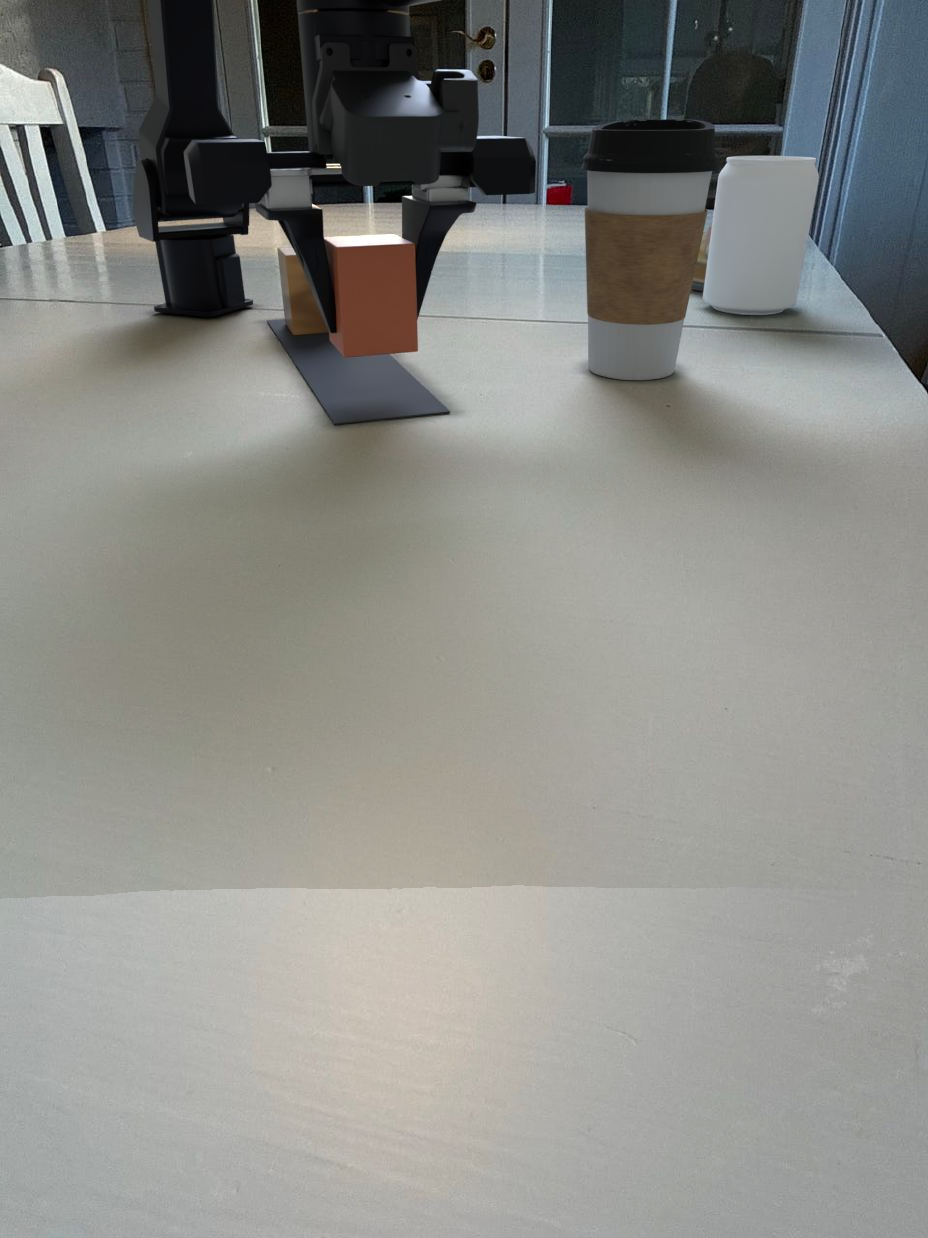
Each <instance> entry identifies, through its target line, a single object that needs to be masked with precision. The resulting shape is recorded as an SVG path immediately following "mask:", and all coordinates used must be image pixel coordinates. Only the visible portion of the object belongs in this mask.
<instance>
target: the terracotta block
mask: <svg viewBox="0 0 928 1238" xmlns="http://www.w3.org/2000/svg"><path fill="white" fill-rule="evenodd" d="M324 242H325V248H326V253H327V259H328V264H329V270H330V276H331V281H332V287H333V293H334V298H335V304H336V325H337V333H332V334H331V333H330V332H329V338H330V341H331V343H332V344H333V345H334V346H335V347H336V348H337V349H338V351H339V352H340V353H341V354H342V355H343V356H344V357H345V358H347V357H359V356H371V355H383V354H390V355H392V354H394V355H396V354H405V353H407V354H408V353H417V352H418V351H419V338H418V337H419V335H418V334H419V331H418V320H417V297H416V263H415V244H414V243H412V242H410V241H408V240H406V239H404V238H402V236H400V235H397V234H395V233H388V234H387V233H386V234H385V233H384V234H364V235H361V234H360V235H341V236H324Z"/></svg>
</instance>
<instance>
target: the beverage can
mask: <svg viewBox="0 0 928 1238" xmlns="http://www.w3.org/2000/svg"><path fill="white" fill-rule="evenodd" d="M725 161H726V164H725V165H724V167H723V168H722V169H721V170H720V172H719V173H718V177H717V182H716V183H717V184H716V185H717V186H716V190H715V192H716V193H715V198H714V199H715V200H714V206H713V207H714V208H713V215H712V222H711V224H712V230H711V238H710V245H709V253H708V261H707V269H706V276H705V284H704V291H702V300H703V302H704V303H706V304H707V305H709V306H711V307H712V308H713V309H714V310H717V311H718V312H723V313H727V314H733V315H745V316H746V315H747V316H769V315H777V314H780V313H782V312H784V310H787V309H791V308H793V307H794V306H795V305H796V304H797V301H798V297H799V291H800V286H801V279H802V273H803V269H804V263H805V256H806V253H807V246H808V240H809V235H810V230H811V224H812V219H813V213H814V208H815V203H816V197H817V192H818V185H819V179H820V175H819V171H818V169H817V167H816V165H815V163H816V162H817V158H816V157H811V156H795V155H794V156H793V155H738V156H737V155H735V156H728V157H726V160H725Z"/></svg>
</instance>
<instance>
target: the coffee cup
mask: <svg viewBox="0 0 928 1238" xmlns="http://www.w3.org/2000/svg"><path fill="white" fill-rule="evenodd" d="M715 138H716V126H715V124H713V123H711V122H710V121H709V122H708V121H704V120H699V119H685V118H683V119H682V118H679V119H678V118H677V119H676V118H675V119H673V118H672V119H671V118H669V119H668V118H661V119H660V118H659V119H657V118H656V119H654V118H653V119H651V118H650V119H645V118H644V119H626V120H625V119H624V120H618V121H612V122H607V123H603V124H600V125H596V126H594V127H593V128H592V130H591V133H590V139H589V144H588V149H587V153H586V154H584V155H583V157H582V160H583V161H582V165H581V170H582V171H586V172H587V173H586V174H587V175H586V176H587V177H586V179H587V207H585V208H584V237H585V238H584V239H585V241H584V242H585V243H584V244H585V277H586V312H587V313H586V315H587V355H588V356H587V366H588V369H589V371H590V372H591V373H593V374H595V375H598V376H600V377H605V378H608V379H614V380H622V381H650V380H652V381H653V380H658V379H663V378H666V377H669V376H672V374H674V372H675V369H676V365H677V361H678V360H677V359H678V356H679V355H678V354H679V349H680V342H681V338H682V332H683V327H684V322H685V318H686V315H687V311H688V306H689V301H690V296H691V292H692V289H691V288H692V283H693V278H694V273H695V269H696V264H697V259H698V255H699V250H700V245H701V240H702V236H703V232H705V231H704V230H705V226H706V222H707V221H706V220H707V216H708V212H709V210H708V209H707V208H706V206H707V200H708V194H709V189H710V184H711V179H712V173H713V172H716V171H719V169H720V168H719V156H718V154H717V153H716V139H715Z"/></svg>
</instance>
